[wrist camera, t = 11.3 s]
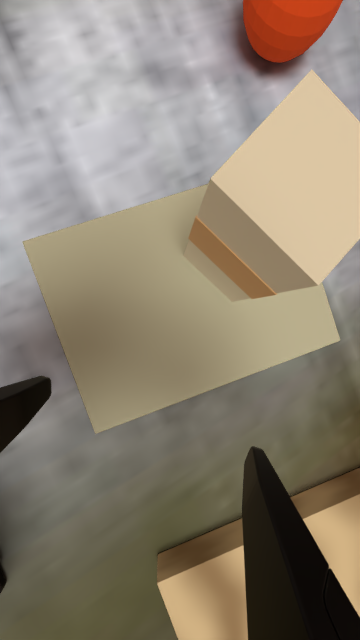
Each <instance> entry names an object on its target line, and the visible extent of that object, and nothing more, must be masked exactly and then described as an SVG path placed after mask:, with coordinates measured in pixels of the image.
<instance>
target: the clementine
mask: <svg viewBox="0 0 360 640" xmlns="http://www.w3.org/2000/svg"><path fill="white" fill-rule="evenodd" d="M342 1H343V0H243V20H244V24H245V28H246V32H247V36H248V39H249V42H250V44H251V46H252V48H253V49H254V50H255V51H256V52H257V54H258V55H260V56H261V57H263V58H264V59H266V60H268V61H271V62H278V63H281V62H286V61H289V60H291V59H293V58H295V57H297V56H299V55H301V54H303V53H304V52H305V51H306V50H307V49H308V48H309V47H310V46H311V45H313V44H314V43H315V42H316V41H317V40H318V39H319V38H320V37H321V36H322V34H323V33H324V31H325V30H326V29H327V27H328V26H329V24H330V23H331V21H332V20H333V18H334V16H335V15H336V13H337V11H338V9H339V7H340V5H341V3H342Z"/></svg>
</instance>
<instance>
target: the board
mask: <svg viewBox="0 0 360 640" xmlns="http://www.w3.org/2000/svg"><path fill="white" fill-rule="evenodd" d="M290 498H291V500H292V501H293V503H294V505H295V507H296V508H297V510H298V512H299V514H300V515H301V517H302V519H303V521H304V522H305V524H306V526H307V527H308V529H309V531H310V533H311V534H312V536H313V538H314V540H315V541H316V543H317V545H318V547H319V548H320V550H321V552H322V554H323V555H324V557H325V559H326V561H327V562H328V564H329V568H331V569H332V571H333V573H334V574H335V576H336V578H337V580H338V581H339V583H340V585H341V587H342V588H343V590H344V592H345V593H346V595H347V597H348V598H349V600H350V602H351V603H352V605H353V607H354V608H355V610H356V612H357V613H358V615H359V617H360V468H358V469H355V470H353V471H351V472H348V473H346V474H344V475H341V476H339V477H337V478H334V479H332V480H330V481H327V482H325V483H323V484H320V485H318V486H316V487H313V488H311V489H309V490H306V491H304V492H302V493H299V494H297V495H295V496H292V497H290ZM157 584H158V587H159V589H160V592H161V595H162V597H163V600H164V603H165V605H166V608H167V611H168V613H169V616H170V619H171V621H172V624H173V626H174V629H175V632H176V634H177V637H178V640H248V629H247V608H246V588H245V567H244V546H243V526H242V518H241V519H239V520H237V521H234V522H232V523H230V524H227V525H225V526H223V527H220V528H218V529H216V530H213V531H211V532H209V533H206V534H204V535H202V536H199V537H197V538H195V539H192V540H190V541H188V542H185V543H183V544H181V545H178V546H176V547H174V548H171V549H169V550H167V551H164V552H162V553H160V554H158V563H157Z"/></svg>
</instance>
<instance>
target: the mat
mask: <svg viewBox="0 0 360 640" xmlns="http://www.w3.org/2000/svg"><path fill="white" fill-rule="evenodd" d="M207 187H208V184H206V185H203V186H200V187H197V188H193V189H190V190H187V191H184V192H180V193H177V194H174V195H171V196H168V197H164V198H161V199H158V200H155V201H151V202H148V203H145V204H142V205H139V206H135V207H132V208H129V209H126V210H123V211H119V212H116V213H113V214H110V215H106V216H103V217H100V218H97V219H94V220H90V221H87V222H84V223H81V224H77V225H74V226H71V227H68V228H65V229H61V230H58V231H55V232H52V233H49V234H45V235H42V236H39V237H36V238H32V239H29V240H26V241H23V245H24V248H25V250H26V253H27V255H28V258H29V261H30V263H31V266H32V269H33V271H34V274H35V276H36V279H37V282H38V284H39V287H40V290H41V292H42V295H43V298H44V300H45V303H46V305H47V308H48V311H49V313H50V316H51V319H52V321H53V324H54V326H55V329H56V332H57V334H58V337H59V340H60V342H61V345H62V348H63V350H64V353H65V355H66V358H67V361H68V363H69V366H70V369H71V371H72V374H73V376H74V379H75V382H76V384H77V387H78V390H79V392H80V395H81V398H82V400H83V403H84V405H85V408H86V411H87V413H88V416H89V419H90V421H91V424H92V426H93V429H94V432H95V434H96V433H99V432H102V431H104V430H107V429H110V428H112V427H115V426H117V425H120V424H123V423H125V422H128V421H131V420H133V419H136V418H138V417H141V416H144V415H146V414H149V413H151V412H154V411H157V410H159V409H162V408H165V407H167V406H170V405H172V404H175V403H178V402H180V401H183V400H186V399H188V398H191V397H193V396H196V395H199V394H201V393H204V392H207V391H209V390H212V389H214V388H217V387H220V386H222V385H225V384H228V383H230V382H233V381H235V380H238V379H241V378H243V377H246V376H248V375H251V374H254V373H256V372H259V371H262V370H264V369H267V368H269V367H272V366H275V365H277V364H280V363H283V362H285V361H288V360H290V359H293V358H296V357H298V356H301V355H304V354H306V353H309V352H311V351H314V350H317V349H319V348H322V347H324V346H327V345H330V344H332V343H335V342H338V341H340V338H339V335H338V332H337V328H336V325H335V322H334V319H333V316H332V313H331V309H330V306H329V303H328V300H327V297H326V293H325V290H324V287H323V284H322V282H321V283H320V284H319V285H318V286H313V287H308V288H302V289H297V290H292V291H287V292H281V293H277V295H273V296H267V297H262V298H256V299H251V298H250V299H245V300H239V301H234V302H232V301H231V300H229V299H228V298H227V297H226V296H225V295H224V294H223V293H222V292H221V291H220V290H219V289H218V288H217V287H216V286H215V285H214V284H212V283H211V282H210V281H209V280H208V279H207V278H206V277H205V276H204V275H203V274H202V273H201V272H200V271H199V270H198V269H197V268H195V267H194V266H193V265H192V264H191V263H190V262H189V261H188V260H187V259H186V258H185V257H184V256H183V255H184V252H185V249H186V247H187V244H188V241H189V239H188V238H189V235H190V232H191V229H192V226H193V223H194V220H195V217H196V216H197V215H198V213H199V210H200V207H201V204H202V201H203V198H204V195H205V193H206V190H207Z"/></svg>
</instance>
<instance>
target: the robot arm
mask: <svg viewBox="0 0 360 640" xmlns="http://www.w3.org/2000/svg"><path fill="white" fill-rule="evenodd" d="M50 395H51V380H50V378H48V377H45V376H38V377H35V378H31V379H28V380H24V381H21V382H18V383H14V384H11V385H7V386H4V387H1V388H0V453H1V452H2V450H3V449H4V448H5V447H6V446H7V445H8V444H9V443H10V442H11V441H12V440H13V439H14V438H15V437H16V436H17V435H18V434H19V433H20V432H21V431H22V430H23V429H24V428H25V427H26V425H27V424H28V423H29V422H30V421H31V419H32V418H33V417H34V416H35V415H36V413H37V412H38V411H39V410H40V409H41V407H42V406H43V405H44V404H45V402H46V401H47V400H48V399H49V397H50ZM242 526H243V546H244V567H245V588H246V608H247V629H248V640H360V617H359V615H358V613H357V612H356V610H355V608H354V607H353V605H352V603H351V602H350V600H349V598H348V597H347V595H346V593H345V592H344V590H343V588H342V587H341V585H340V583H339V581H338V580H337V578H336V576H335V574H334V573H333V571H332V569H331V568H329V564H328V562H327V561H326V559H325V557H324V555H323V554H322V552H321V550H320V548H319V547H318V545H317V543H316V541H315V540H314V538H313V536H312V534H311V533H310V531H309V529H308V527H307V526H306V524H305V522H304V521H303V519H302V517H301V515H300V514H299V512H298V510H297V508H296V507H295V505H294V503H293V501H292V500H291V498H290V496H289V494H288V493H287V491H286V489H285V487H284V486H283V484H282V482H281V480H280V479H279V477H278V475H277V473H276V472H275V470H274V468H273V466H272V465H271V463H270V461H269V460H268V458H267V456H266V454H265V453H264V451H263V450H262V449H260V448H257V447H254V446H252V447H251V448H250V450H249V453H248V455H247V457H246V460H245V464H244V479H243V499H242ZM5 584H6V582H5V579H4V576H3V574H2V572H1V569H0V593H1V592H2V590H3V588H4V586H5Z"/></svg>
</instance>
